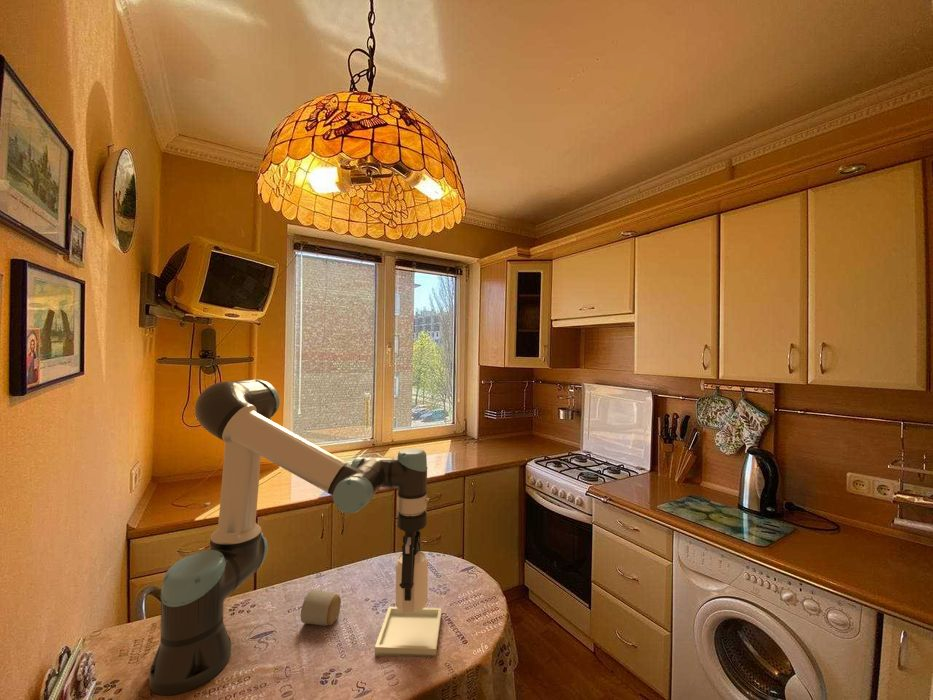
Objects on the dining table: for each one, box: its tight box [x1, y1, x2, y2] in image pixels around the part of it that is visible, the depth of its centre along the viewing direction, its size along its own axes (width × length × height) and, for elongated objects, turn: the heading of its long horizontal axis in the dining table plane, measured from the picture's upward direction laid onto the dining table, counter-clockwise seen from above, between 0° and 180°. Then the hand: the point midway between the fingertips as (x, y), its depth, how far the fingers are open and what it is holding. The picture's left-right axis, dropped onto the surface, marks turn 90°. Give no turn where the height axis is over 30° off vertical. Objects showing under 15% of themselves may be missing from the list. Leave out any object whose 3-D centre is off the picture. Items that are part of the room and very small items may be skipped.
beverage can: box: [395, 550, 429, 613], centre depth 97 cm, size 8×8×12 cm
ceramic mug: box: [300, 588, 342, 627], centre depth 103 cm, size 11×8×8 cm
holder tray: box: [374, 606, 443, 659], centre depth 97 cm, size 15×15×2 cm
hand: (411, 599), depth 97 cm, fingers closed on beverage can, 8 cm apart
